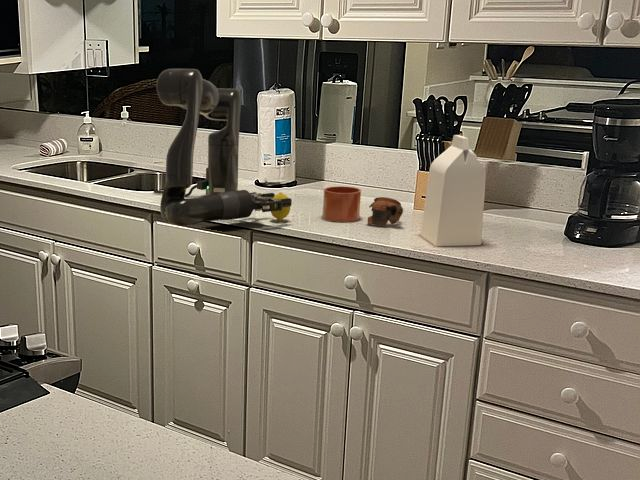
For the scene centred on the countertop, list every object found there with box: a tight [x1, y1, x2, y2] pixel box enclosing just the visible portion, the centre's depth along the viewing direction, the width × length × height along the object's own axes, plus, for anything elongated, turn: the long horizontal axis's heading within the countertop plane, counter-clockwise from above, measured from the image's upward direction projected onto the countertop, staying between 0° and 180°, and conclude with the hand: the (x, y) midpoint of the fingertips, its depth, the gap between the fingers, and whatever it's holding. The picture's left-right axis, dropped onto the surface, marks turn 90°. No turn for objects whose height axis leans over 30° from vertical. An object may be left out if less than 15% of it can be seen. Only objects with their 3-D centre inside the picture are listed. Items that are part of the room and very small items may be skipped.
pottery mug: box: [367, 196, 404, 228], centre depth 256 cm, size 12×10×8 cm
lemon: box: [270, 192, 291, 222], centre depth 260 cm, size 6×6×8 cm
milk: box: [419, 134, 487, 247], centre depth 235 cm, size 12×12×26 cm
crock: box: [321, 185, 362, 223], centre depth 263 cm, size 10×10×8 cm
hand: (282, 199), depth 259 cm, fingers open, 8 cm apart
